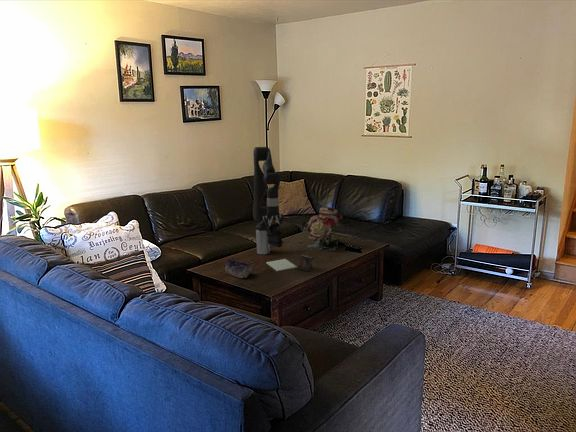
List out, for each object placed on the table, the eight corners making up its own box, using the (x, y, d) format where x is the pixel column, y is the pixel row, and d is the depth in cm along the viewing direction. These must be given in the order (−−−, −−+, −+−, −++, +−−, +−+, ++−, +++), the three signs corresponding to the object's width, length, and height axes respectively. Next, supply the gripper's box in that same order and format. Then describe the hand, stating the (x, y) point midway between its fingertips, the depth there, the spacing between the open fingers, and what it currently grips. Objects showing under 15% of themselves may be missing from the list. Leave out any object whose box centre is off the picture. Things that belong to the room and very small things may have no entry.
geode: (218, 274, 290) (218, 258, 289) (231, 271, 299) (232, 256, 298) (242, 279, 278) (242, 263, 277) (255, 276, 287) (255, 260, 286)
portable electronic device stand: (296, 269, 295) (296, 256, 293) (304, 265, 301) (304, 253, 299) (307, 272, 289) (307, 259, 287) (315, 268, 295) (315, 256, 293)
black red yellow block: (281, 246, 287) (274, 223, 288) (269, 250, 297) (263, 228, 298) (286, 245, 289) (279, 222, 290) (274, 249, 299) (267, 227, 301)
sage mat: (266, 263, 308) (266, 262, 308) (285, 259, 314) (285, 258, 314) (277, 271, 292) (277, 270, 292) (297, 267, 298) (297, 266, 298)
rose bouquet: (311, 240, 358) (310, 201, 351) (348, 243, 346) (348, 204, 339) (298, 249, 335) (297, 209, 328) (337, 253, 323) (336, 211, 316)
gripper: (281, 202, 295) (281, 228, 299) (260, 204, 289) (260, 230, 294) (285, 204, 288) (286, 230, 293) (264, 207, 283) (265, 233, 287)
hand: (273, 230), depth 293 cm, fingers closed on black red yellow block, 4 cm apart
